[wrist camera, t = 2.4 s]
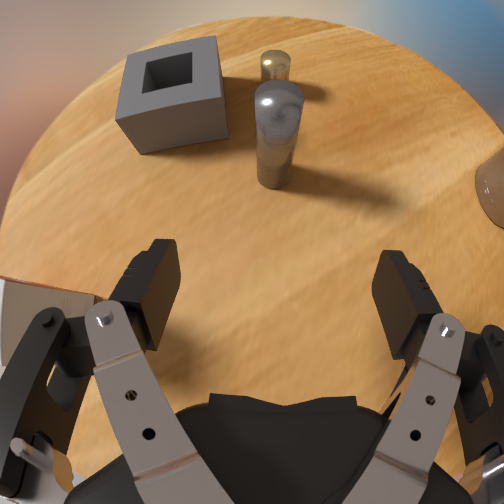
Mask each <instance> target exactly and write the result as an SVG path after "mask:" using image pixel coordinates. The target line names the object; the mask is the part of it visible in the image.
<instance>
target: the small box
mask: <svg viewBox="0 0 504 504" xmlns="http://www.w3.org/2000/svg"><path fill="white" fill-rule="evenodd" d="M93 305H94V294H88V293H82V292H77V291H72V290H66V289H61V288H57V287H53V286H48V285H44V284H39V283H34V282H29V281H23V280H18V279H14V278H9V277H4V276H0V366H7V365H8V363H9V361H10V359H11V357H12V355H13V353H14V351H15V349H16V348H17V346H18V344H19V342H20V340H21V339H22V337H23V335H24V333H25V332H26V330H27V328H28V326H29V325H30V323H31V321H32V320H33V318H34V317H35V316H36V315H37V314H38V313H39V312H40V311H42V310H43V309H46V308H49V307H57V308H60V309H61V310H62V311H63V313H64V315H65V317H66V318H72V317H81V316H85V315H86V313H87V311H88V310H89V309H90V308H91V307H92V306H93Z"/></svg>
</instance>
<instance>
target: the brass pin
mask: <svg viewBox="0 0 504 504" xmlns="http://www.w3.org/2000/svg"><path fill="white" fill-rule="evenodd" d="M290 61H291V58H290V56H289V55H288V54H287V53H286V52H283V51H280V50H269V51H266V52H264V53H263V54H262V55H261V84H263V83H264V82H267V81H270V80H285V81H289V71H290Z"/></svg>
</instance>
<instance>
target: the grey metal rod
mask: <svg viewBox="0 0 504 504" xmlns="http://www.w3.org/2000/svg"><path fill="white" fill-rule="evenodd" d="M303 104H304V94H303V92H302V90H301V89H300V88H299V87H298V86H297V85H295V84H294V83H291V82H289V81H285V80H270V81H267V82H264V83H263V84H261V85H260V86H259V87H258V88H257V89H256V91H255V122H256V152H257V177H258V180H259V182H260V184H261V185H263V186H264V187H265V188H268V189H280V188H282V187H284V186H285V185H286V184H287V182H288V180H289V176H290V171H291V166H292V161H293V156H294V151H295V146H296V141H297V136H298V130H299V125H300V120H301V115H302V109H303Z"/></svg>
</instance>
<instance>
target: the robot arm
mask: <svg viewBox="0 0 504 504" xmlns="http://www.w3.org/2000/svg"><path fill="white" fill-rule="evenodd" d="M475 184H476V190H477V194H478V197H479V200H480V203H481V205H482V207H483V209H484V211H485V212H486V214H487V215H488V217H489V218H490V219H491V220H492V221H493V222H494V223H495V224H496V225H498V226H500V227H501V228H504V147H503V148H502V149H500V150H499V151H498V152H497V153H495V154H494V155H493V156H492V157H490V158H489V159H488V160H487V161H485V162H484V163H483V164H482V165H480V166H479V167H478V169H477V171H476V175H475ZM180 280H181V272H180V265H179V259H178V252H177V245H176V242H175V240H174V239H155V240H154V241H153V243H152V245H151V246H150V248H149V250H148V251H142V252H140V253H139V254H138V255H137V256H135V257H134V258H133V259H132V261H131V262H130V264H129V265H128V269H126V270H125V272H124V274H123V276H122V277H121V279H120V280H119V282H118V284H117V285H116V287H115V289H114V290H113V292H112V294H111V295H110V297H109V299H108V300H106V301H102V302H99V303H97V304H95V305H93V306H92V307H91V308H90V309H89V310H88V311H87V313H86V315H85V316H81V317H72V318H66V317H65V315H64V313H63V311H62V310H61V309H60V308H57V307H49V308H46V309H43V310H42V311H40V312H39V313H38V314H37V315H36V316H35V317H34V318H33V320H32V321H31V323H30V325H29V326H28V328H27V330H26V332H25V333H24V335H23V337H22V339H21V340H20V342H19V344H18V346H17V348H16V349H15V351H14V353H13V355H12V357H11V359H10V361H9V363H8V365H7V367H6V369H5V371H4V373H3V375H2V377H1V379H0V497H2V498H5V499H7V500H9V501H12V502H14V503H16V504H504V331H503V330H502V329H501V328H499V327H498V326H495V325H487V326H485V327H484V328H483V330H482V331H481V333H480V334H476V333H471V332H467V331H465V330H464V327H463V325H462V324H461V322H460V321H459V320H458V319H456V318H455V317H453V316H452V315H449V314H446V313H443V311H442V309H441V307H440V305H439V303H438V301H437V299H436V298H435V296H434V294H433V292H432V290H430V287H429V285H428V283H427V282H426V280H425V278H424V276H423V274H422V273H421V271H420V270H419V269H417V268H416V267H415V266H414V265H413V264H411V263H409V262H408V260H407V258H406V257H405V255H404V253H403V252H402V251H399V250H383V251H382V253H381V255H380V259H379V262H378V265H377V269H376V272H375V275H374V278H373V282H372V296H373V299H374V302H375V304H376V307H377V310H378V313H379V316H380V319H381V322H382V325H383V328H384V331H385V334H386V338H387V341H388V344H389V347H390V351H391V354H392V357H393V360H397V359H404V360H405V365H404V366H403V368H402V370H401V372H400V374H399V376H398V378H397V380H396V382H395V384H394V386H393V388H392V390H391V392H390V394H389V396H388V398H387V400H386V401H385V403H384V405H383V406H382V408H381V410H380V411H379V412H376V411H373V410H371V409H369V408H365V407H362V406H357V401H356V396H344V397H322V398H318V399H314V400H310V401H306V402H301V403H297V404H293V405H288V406H282V405H278V404H274V403H270V402H266V401H262V400H258V399H255V398H251V397H248V396H237V395H225V394H214V393H210V397H209V403H202V404H198V405H194V406H191V407H188V408H185V409H183V410H181V411H179V412H177V413H175V414H174V412H173V410H172V408H171V406H170V405H169V403H168V401H167V399H166V397H165V395H164V393H163V392H162V390H161V388H160V386H159V384H158V382H157V380H156V378H155V376H154V374H153V372H152V370H151V368H150V366H149V364H148V361H147V359H146V357H145V355H144V354H145V352H146V349H147V350H153V351H157V348H158V345H159V342H160V340H161V337H162V334H163V331H164V328H165V325H166V322H167V320H168V317H169V314H170V311H171V308H172V306H173V303H174V300H175V297H176V295H177V292H178V289H179V286H180ZM54 364H55V366H56V367H55V369H54V372H53V374H52V376H51V379H50V381H49V383H48V386H47V380H48V377H49V375H50V373H51V370H52V368H53V366H54ZM91 375H94V376H95V379H96V382H97V385H98V389H99V392H100V395H101V398H102V401H103V404H104V407H105V409H106V412H107V415H108V418H109V420H110V423H111V426H112V428H113V431H114V433H115V436H116V438H117V440H118V443H119V445H120V448H121V450H122V452H123V454H121V455H120V456H119V457H117V458H116V459H115V460H113V461H112V462H111V463H109V464H108V465H106V466H105V467H103V468H102V469H101V470H99V471H98V472H96V473H95V474H93V475H92V476H91V477H89V478H88V479H86V480H85V481H83V482H82V483H80V484H79V485H77V486H76V487H73V484H72V481H73V478H74V476H73V473H72V467H71V463H70V461H69V459H68V458H67V457H66V454H67V450H68V447H69V443H70V440H71V436H72V433H73V429H74V426H75V423H76V419H77V416H78V413H79V410H80V407H81V404H82V401H83V398H84V395H85V392H86V389H87V386H88V383H89V381H90V378H91ZM486 377H488V380H489V383H490V385H491V388H492V391H493V395H494V399H493V403H492V405H491V407H490V408H489V404H488V401H487V398H486V395H485V392H484V389H483V386H482V382H483V381H484V380H485V378H486ZM453 407H454V409H455V414H456V418H457V422H458V426H459V431H460V436H461V441H462V446H463V452H464V457H465V464H466V468H465V471H464V473H463V477H462V478H461V479H460V480H459V482H458V483H457V481H455V480H454V479H453V478H452V477H451V476H450V475H449V474H448V473H446V472H445V471H444V470H443V469H442V468H441V467H440V466H439V465H437V464H436V463H435V462H434V458H435V456H436V454H437V451H438V449H439V446H440V444H441V441H442V439H443V436H444V434H445V431H446V428H447V425H448V423H449V420H450V417H451V414H452V411H453Z"/></svg>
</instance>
